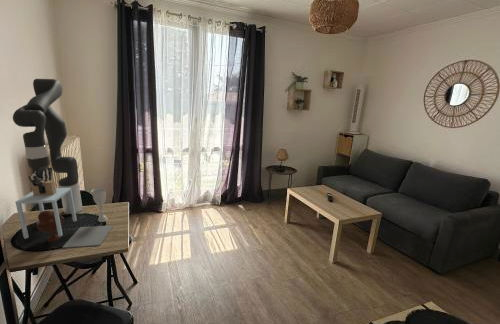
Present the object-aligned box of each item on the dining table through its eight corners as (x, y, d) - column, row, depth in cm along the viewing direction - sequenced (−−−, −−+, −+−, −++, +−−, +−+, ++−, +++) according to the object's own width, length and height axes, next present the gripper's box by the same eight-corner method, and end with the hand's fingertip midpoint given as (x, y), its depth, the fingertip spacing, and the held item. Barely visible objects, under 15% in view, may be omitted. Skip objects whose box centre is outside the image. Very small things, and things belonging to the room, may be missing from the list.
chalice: (92, 221, 140) (87, 191, 135) (102, 216, 146) (98, 187, 141) (102, 223, 138) (98, 193, 133) (112, 218, 144) (109, 188, 139)
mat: (80, 228, 133) (80, 227, 133) (113, 226, 136) (113, 225, 136) (62, 248, 116) (62, 247, 116) (100, 245, 119) (100, 244, 118)
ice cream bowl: (53, 246, 117) (47, 217, 113) (33, 243, 119) (27, 214, 115) (73, 234, 127) (68, 207, 123) (54, 231, 129) (49, 204, 125)
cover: (43, 222, 127) (34, 177, 121) (76, 220, 130) (69, 176, 124) (24, 238, 113) (12, 188, 107) (61, 236, 116) (52, 187, 109)
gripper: (37, 152, 118) (44, 186, 122) (16, 160, 104) (25, 198, 109) (55, 152, 119) (61, 186, 124) (37, 159, 106) (45, 197, 110)
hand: (44, 191), depth 116 cm, fingers closed on cover, 2 cm apart
